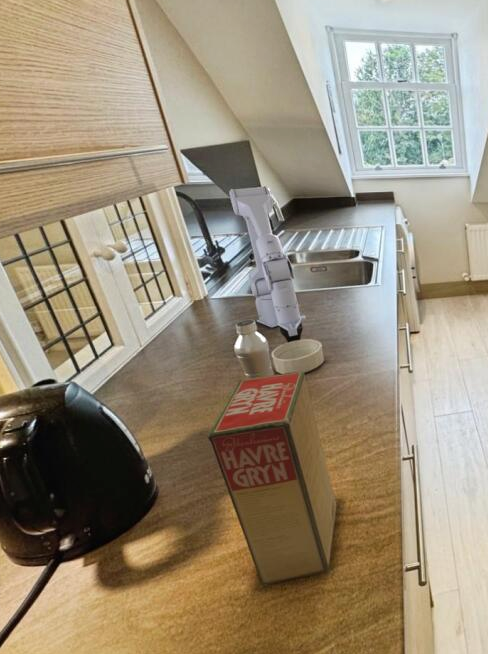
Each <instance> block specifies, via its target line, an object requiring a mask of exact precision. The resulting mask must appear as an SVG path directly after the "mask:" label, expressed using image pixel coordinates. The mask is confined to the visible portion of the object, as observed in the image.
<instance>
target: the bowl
mask: <svg viewBox="0 0 488 654" xmlns="http://www.w3.org/2000/svg"><path fill="white" fill-rule="evenodd" d="M324 355H325V354H324V351H323V345H322V343H321V341H318V340H316V339H310V338H307V339H304V338H303V339H301V340H296V341H292V342H285V343H283V344H281V345H278V346H277V347H275V348H274V349H273V350H272V351H271V355H270V357H271V359H272V364H273V368H274V370H275V371H276V372H277V373H279V374H284V373H290V372H298V371H301V372H303V373H304V374H305V373H307V372H310V371H313V370H315V369H316V368H318V367H319V366H321V365H322V364H323V362H324V361H325V356H324Z"/></svg>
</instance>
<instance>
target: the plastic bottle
mask: <svg viewBox="0 0 488 654" xmlns="http://www.w3.org/2000/svg"><path fill="white" fill-rule="evenodd" d="M235 329H236V334H237V335H238V336H237V338H236V340H235V343H234V345H233V351H234V353H235V356H236V358H237V359H238V361H239V363H240V366H241V369H242V371H243V373H244V376H245V379H251V378H258V377H266V376H271V375H275V373H274V371H273V368H272V363H271V358H270V357H271V355H270V346H269V341H268V340H267V338H266V337H265V336H264V335H263V334H261V333H260V332H258V325H257V323H256V321H255V319H244V320H241V321H238V322H237V323H235Z"/></svg>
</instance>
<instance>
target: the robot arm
mask: <svg viewBox="0 0 488 654" xmlns="http://www.w3.org/2000/svg"><path fill="white" fill-rule="evenodd" d="M228 193H229V199H230V203H231V206H232V208H233V213H234V214H235V215H236V216H240V217H241V216H242V217H243V219H244V220H245V223H246V228H247V231H248V235H249V239H250V245H251V248H252V249H251V250H252V253H253V257H254V260H255V262H254V263H255V267H253V269H251V270H250V271H249V272H248V279H249V280H248V281H249V287H250V289H251V292H252V295H253V297H255V302H254V303H255V307H256V311H257V315H258V319H257V320H256V322H257V323H259V324H262V325H264V326H267V327H269V328H276V327H278V328H279V332H280V334H281V335H282V336H283V337H284V339H285V340H286V343H288V342H292V341H296V340H302V333H303V329H304V327H303V324H302V322H303V321H306V315H301V313H300V308H299V304H298V300H297V299H298V298H297V295H296V291H295V286H294V281H293V280H294V279H295V278H294V277H295V273H294V269H293V265H292V262H291V261H290V259H289V256H288V255H287V254H285V251H284V248H283V246H282V243H281V240H280V238H279V237H278V236H277V235H276V234H273V231H272V227H271V222H270V217H269V214H270V213H272V211H273V208H274V199H273V196H272V193H271V190H270V188H269V187H268V186H267V185H263V186H258V187H247V188H245V187H244V188H235V189H234V188H230V189H229V192H228Z"/></svg>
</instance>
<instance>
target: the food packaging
mask: <svg viewBox="0 0 488 654" xmlns="http://www.w3.org/2000/svg"><path fill="white" fill-rule="evenodd" d="M207 438H208V440H209V442H210V444H211V446H212V450H213V452H214V456H215V458H216V461H217V464H218V467H219V470H220V472H221V475H222V478H223V480H224V484H225V486H226V489H227V492H228V494H229V497H230V500H231V503H232V506H233V508H234V512H235V514H236V517H237V520H238V522H239V525H240V528H241V531H242V534H243V537H244V538H245V541H246V545H247V547H248V551H249V553H250V556H251V558H252V562H253V566H254V567H255V568H254V569H255V571H256V573H257V576H258V579H259V582H260V586H268V585H273V584H278V583H282V582H286V581H290V580H291V581H292V580H294V579H300V578H304V577H309V576H314V575H318V574H322V573H325V572H327V571H328V570H329V568H330V562H331V554H332V548H333V547H332V546H333V538H334V532H335V531H334V530H335V523H336V515H337V499H336V497H335V493H334V490H333V489H334V488H333V486H332V481H331V478H330V473H329V469H328V465H327V460H326V457H325V453H324V448H323V444H322V440H321V437H320V432H319V429H318V425H317V421H316V417H315V412H314V408H313V404H312V400H311V396H310V392H309V388H308V383H307V380H306V375H305V373H303V372H301V371H298V372H290V373H284V374H281V373H279V374H274V375H271V376H266V377H258V378H251V379H246V378H245V379H240V380H238V381H237V384H236V387H234V389H233V391H232V392H231V393H230V395H229V397H228V402H227V404H226V405H225V407H224V408H223V410H222V412H220V414H219V416H218V417H217V418H216V421H215V423H214V425H213V426H212V428H211V431H210V432H209V434H208V435H207Z"/></svg>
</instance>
